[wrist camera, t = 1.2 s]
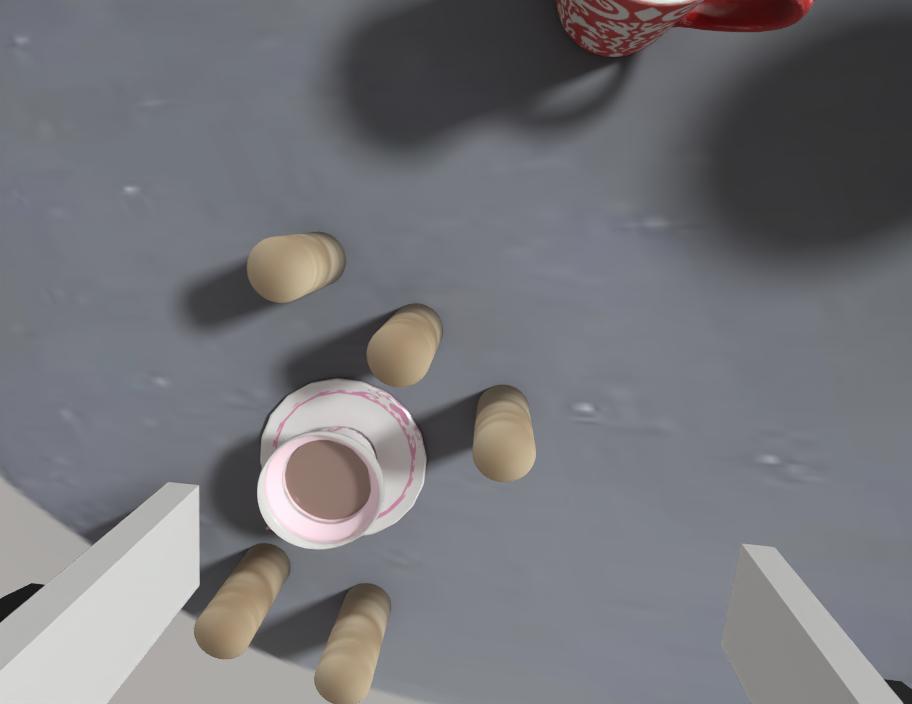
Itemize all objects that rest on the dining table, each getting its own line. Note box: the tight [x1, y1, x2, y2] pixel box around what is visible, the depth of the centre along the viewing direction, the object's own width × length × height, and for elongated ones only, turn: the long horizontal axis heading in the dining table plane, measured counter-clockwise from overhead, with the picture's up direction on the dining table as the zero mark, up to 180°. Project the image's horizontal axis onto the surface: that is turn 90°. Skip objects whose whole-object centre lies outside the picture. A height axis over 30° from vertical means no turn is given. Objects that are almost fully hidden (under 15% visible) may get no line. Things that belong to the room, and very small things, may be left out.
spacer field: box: [194, 232, 536, 704], centre depth 42 cm, size 20×27×8 cm
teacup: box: [257, 378, 427, 549], centre depth 43 cm, size 12×12×6 cm
